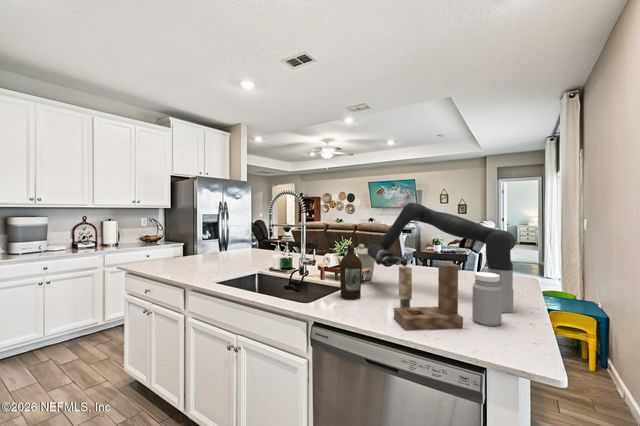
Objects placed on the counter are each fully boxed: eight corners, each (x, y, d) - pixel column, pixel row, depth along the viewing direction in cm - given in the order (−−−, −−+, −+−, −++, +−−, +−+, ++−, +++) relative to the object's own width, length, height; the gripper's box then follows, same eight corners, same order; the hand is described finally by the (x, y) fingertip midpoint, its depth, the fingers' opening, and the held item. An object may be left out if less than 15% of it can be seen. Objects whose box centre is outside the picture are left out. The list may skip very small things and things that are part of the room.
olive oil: (337, 294, 152) (337, 243, 152) (358, 293, 154) (358, 243, 154) (342, 300, 142) (342, 246, 142) (364, 299, 143) (364, 246, 143)
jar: (475, 315, 123) (475, 270, 122) (503, 321, 116) (504, 273, 116) (468, 322, 115) (469, 274, 115) (498, 329, 109) (499, 278, 109)
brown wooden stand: (447, 316, 121) (447, 261, 121) (464, 328, 109) (464, 267, 109) (394, 318, 119) (394, 262, 119) (405, 330, 108) (405, 268, 107)
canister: (340, 277, 191) (341, 243, 191) (365, 274, 199) (365, 242, 199) (356, 283, 175) (356, 246, 175) (382, 280, 183) (382, 245, 182)
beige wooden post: (407, 308, 131) (408, 266, 131) (411, 311, 127) (411, 267, 127) (398, 308, 131) (399, 266, 131) (402, 311, 127) (402, 268, 127)
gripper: (371, 250, 156) (381, 255, 140) (399, 250, 157) (411, 255, 141) (371, 265, 156) (380, 272, 140) (399, 265, 157) (411, 272, 141)
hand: (396, 263), depth 140 cm, fingers open, 8 cm apart
